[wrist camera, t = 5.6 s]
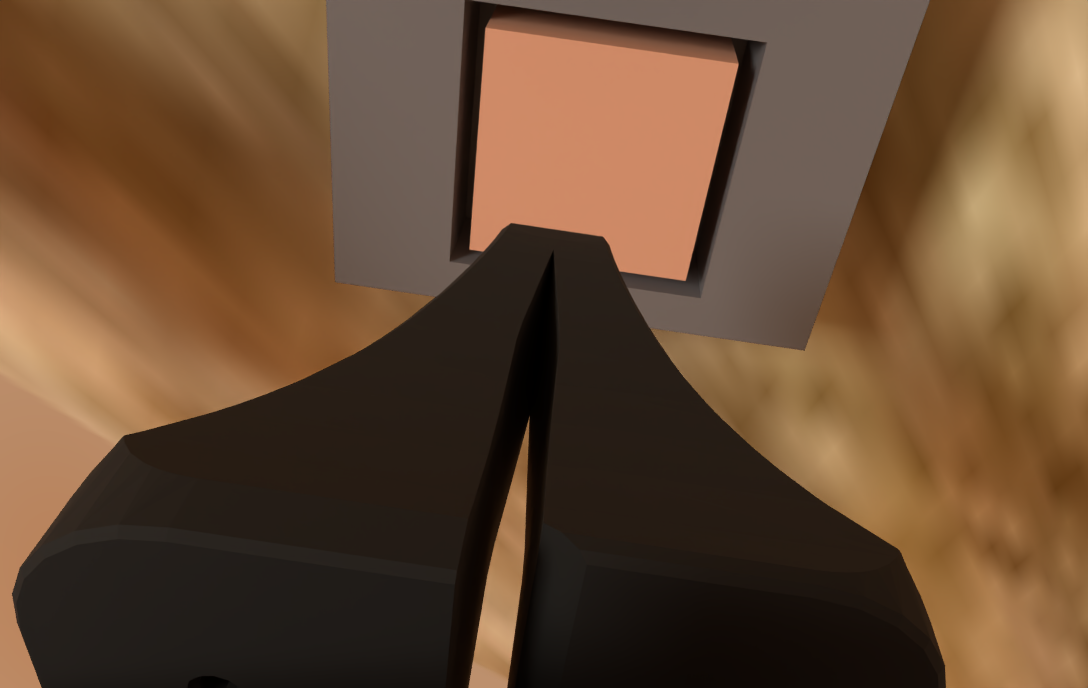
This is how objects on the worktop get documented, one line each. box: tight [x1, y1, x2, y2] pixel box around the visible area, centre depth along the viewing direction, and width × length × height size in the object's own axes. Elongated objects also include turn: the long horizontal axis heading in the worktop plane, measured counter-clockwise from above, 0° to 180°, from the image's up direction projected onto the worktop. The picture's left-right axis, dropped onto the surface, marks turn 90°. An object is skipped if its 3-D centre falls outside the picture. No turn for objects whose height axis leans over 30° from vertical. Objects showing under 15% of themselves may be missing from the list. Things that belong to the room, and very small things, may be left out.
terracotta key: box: [469, 4, 739, 281], centre depth 17 cm, size 4×4×2 cm
